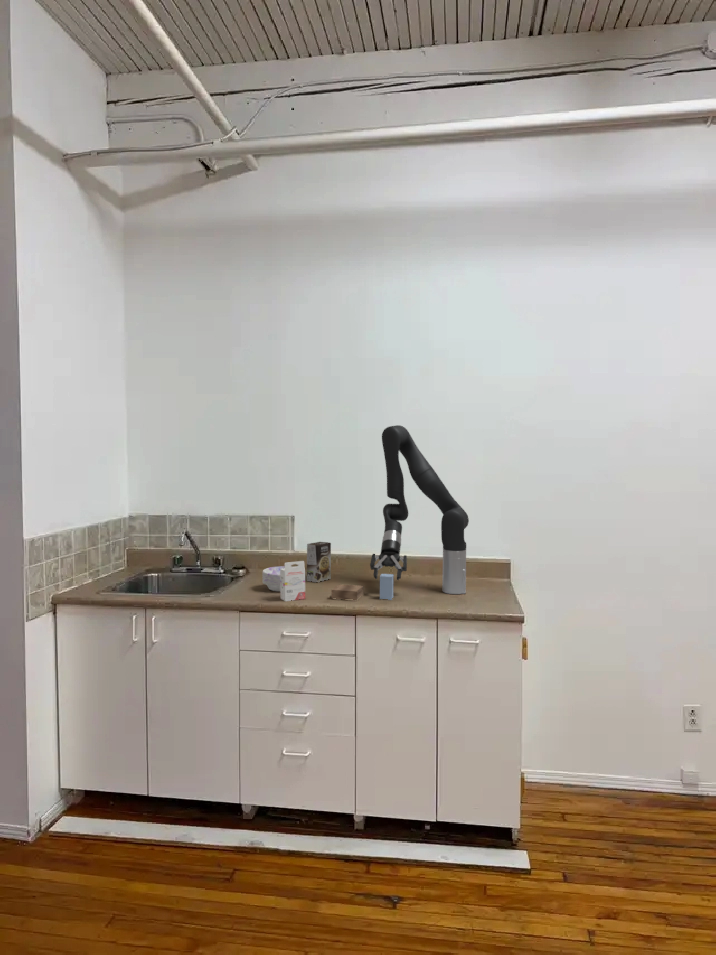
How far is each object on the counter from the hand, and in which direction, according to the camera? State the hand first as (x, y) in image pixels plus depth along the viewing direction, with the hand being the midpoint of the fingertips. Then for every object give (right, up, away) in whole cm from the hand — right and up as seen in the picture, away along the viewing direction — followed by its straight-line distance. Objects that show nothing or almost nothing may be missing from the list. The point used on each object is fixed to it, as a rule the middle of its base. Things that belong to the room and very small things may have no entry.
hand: (386, 578), depth 259 cm
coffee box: (-28, -5, +30) cm, 41 cm away
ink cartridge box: (-36, -8, -3) cm, 37 cm away
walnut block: (-15, -8, 0) cm, 17 cm away
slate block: (0, -7, -1) cm, 8 cm away
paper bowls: (-42, -6, +13) cm, 45 cm away
